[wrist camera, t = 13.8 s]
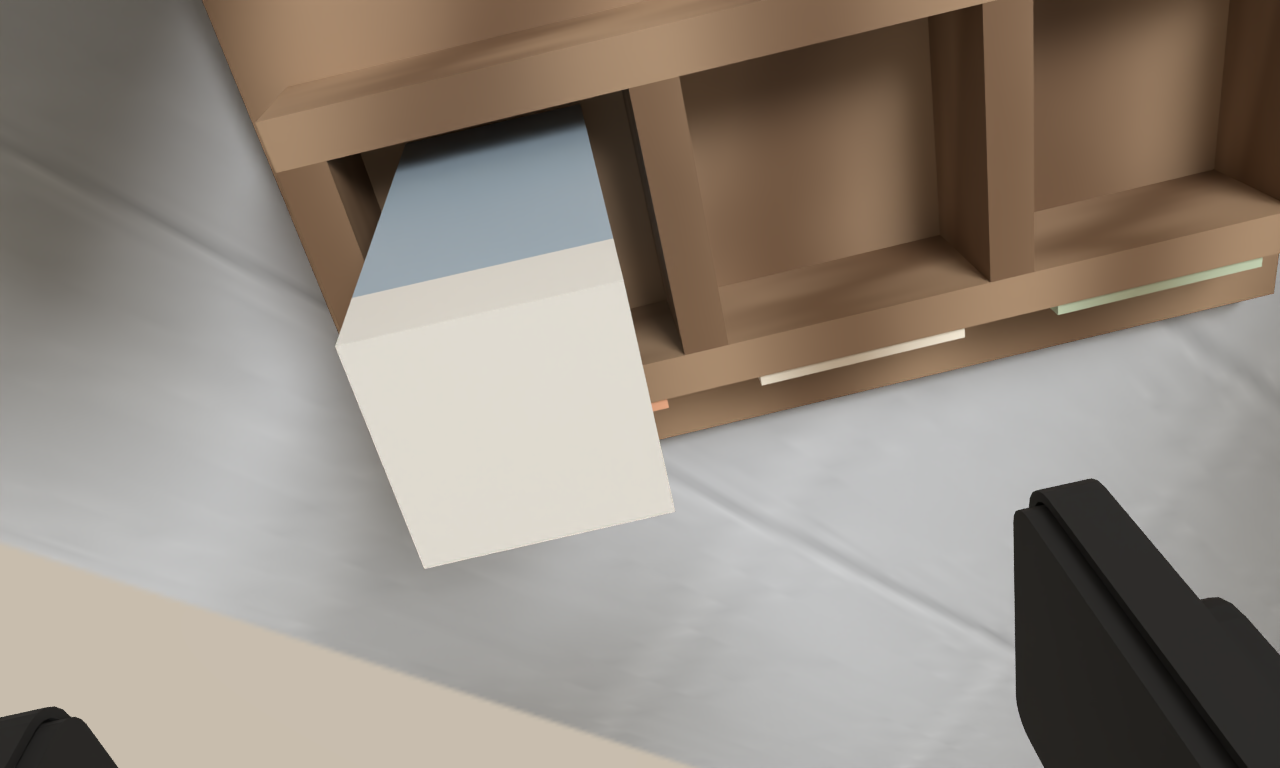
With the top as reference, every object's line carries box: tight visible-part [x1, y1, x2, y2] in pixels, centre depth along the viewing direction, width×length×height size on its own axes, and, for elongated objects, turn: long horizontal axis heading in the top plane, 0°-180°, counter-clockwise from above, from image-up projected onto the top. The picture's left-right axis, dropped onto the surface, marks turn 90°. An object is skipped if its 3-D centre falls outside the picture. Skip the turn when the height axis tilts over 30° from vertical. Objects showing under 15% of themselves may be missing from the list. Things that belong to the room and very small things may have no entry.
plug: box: [335, 104, 675, 569], centre depth 19 cm, size 4×4×10 cm
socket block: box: [202, 0, 1280, 440], centre depth 22 cm, size 24×14×4 cm, turn 102°
